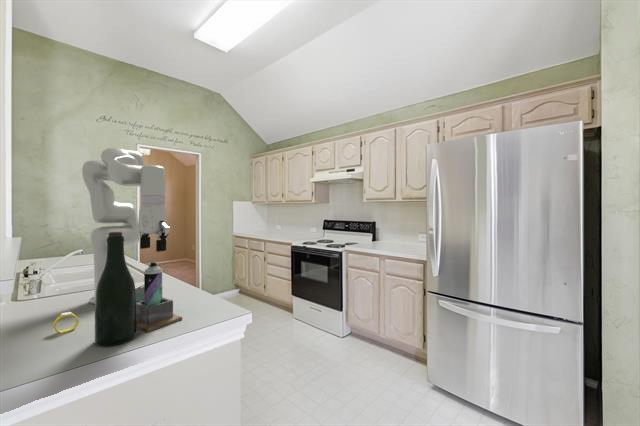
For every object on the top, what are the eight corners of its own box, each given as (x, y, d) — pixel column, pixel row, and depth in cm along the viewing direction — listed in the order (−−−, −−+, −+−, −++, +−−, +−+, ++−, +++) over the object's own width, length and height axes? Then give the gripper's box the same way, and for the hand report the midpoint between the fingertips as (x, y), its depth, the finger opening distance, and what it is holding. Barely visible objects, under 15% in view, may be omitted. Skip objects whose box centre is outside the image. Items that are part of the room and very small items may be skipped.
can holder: (125, 323, 99) (125, 303, 99) (159, 312, 109) (159, 294, 109) (148, 332, 92) (147, 311, 92) (182, 319, 102) (182, 300, 102)
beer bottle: (90, 340, 86) (89, 232, 86) (130, 328, 95) (129, 229, 94) (100, 351, 80) (98, 234, 79) (141, 338, 88) (141, 232, 87)
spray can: (142, 318, 101) (142, 262, 100) (159, 314, 105) (159, 260, 104) (147, 322, 97) (147, 264, 96) (164, 318, 101) (164, 262, 100)
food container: (142, 316, 104) (142, 289, 104) (128, 315, 106) (128, 288, 105) (166, 305, 117) (166, 281, 116) (153, 304, 118) (153, 280, 118)
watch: (76, 328, 95) (77, 310, 96) (78, 330, 94) (79, 312, 94) (52, 332, 91) (53, 314, 91) (53, 335, 89) (55, 316, 89)
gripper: (128, 200, 100) (128, 248, 101) (156, 201, 92) (156, 254, 93) (150, 200, 107) (149, 245, 108) (178, 201, 98) (178, 250, 99)
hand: (153, 249), depth 100 cm, fingers open, 9 cm apart
